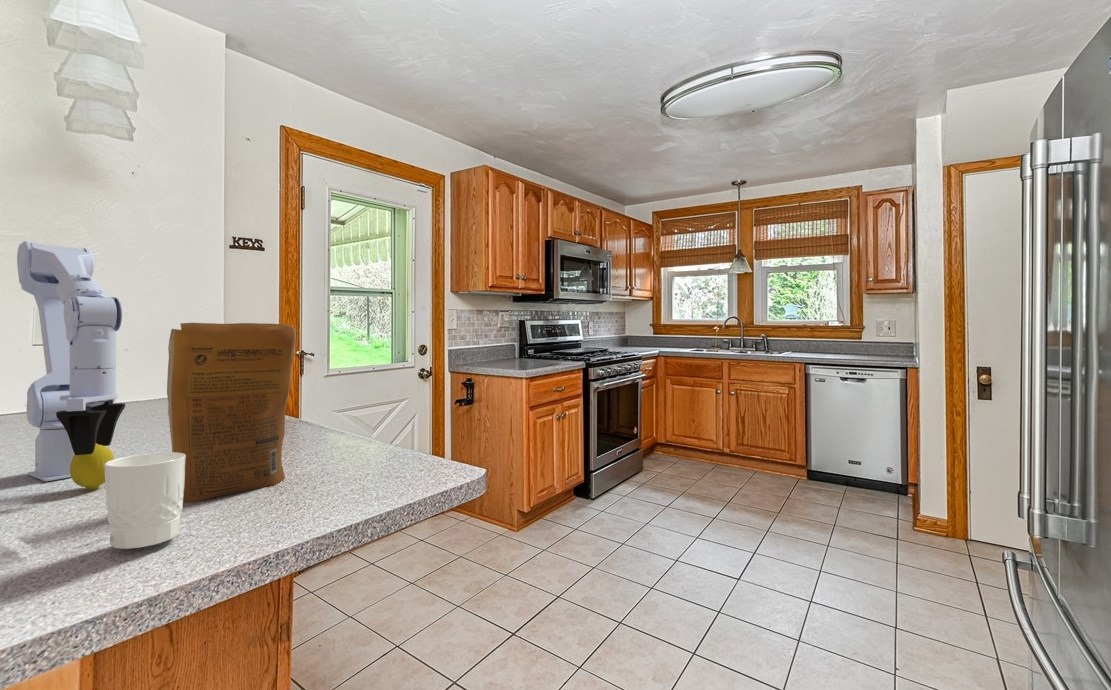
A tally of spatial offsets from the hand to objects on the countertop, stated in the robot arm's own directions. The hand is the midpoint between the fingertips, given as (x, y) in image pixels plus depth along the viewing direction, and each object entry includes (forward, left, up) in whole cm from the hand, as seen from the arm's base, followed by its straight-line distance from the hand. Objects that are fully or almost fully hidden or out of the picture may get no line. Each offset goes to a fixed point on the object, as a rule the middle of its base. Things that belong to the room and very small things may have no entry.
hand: (93, 450), depth 83 cm
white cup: (+33, -5, -7) cm, 34 cm away
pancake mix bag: (+21, +12, -7) cm, 25 cm away
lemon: (0, 0, -7) cm, 7 cm away
